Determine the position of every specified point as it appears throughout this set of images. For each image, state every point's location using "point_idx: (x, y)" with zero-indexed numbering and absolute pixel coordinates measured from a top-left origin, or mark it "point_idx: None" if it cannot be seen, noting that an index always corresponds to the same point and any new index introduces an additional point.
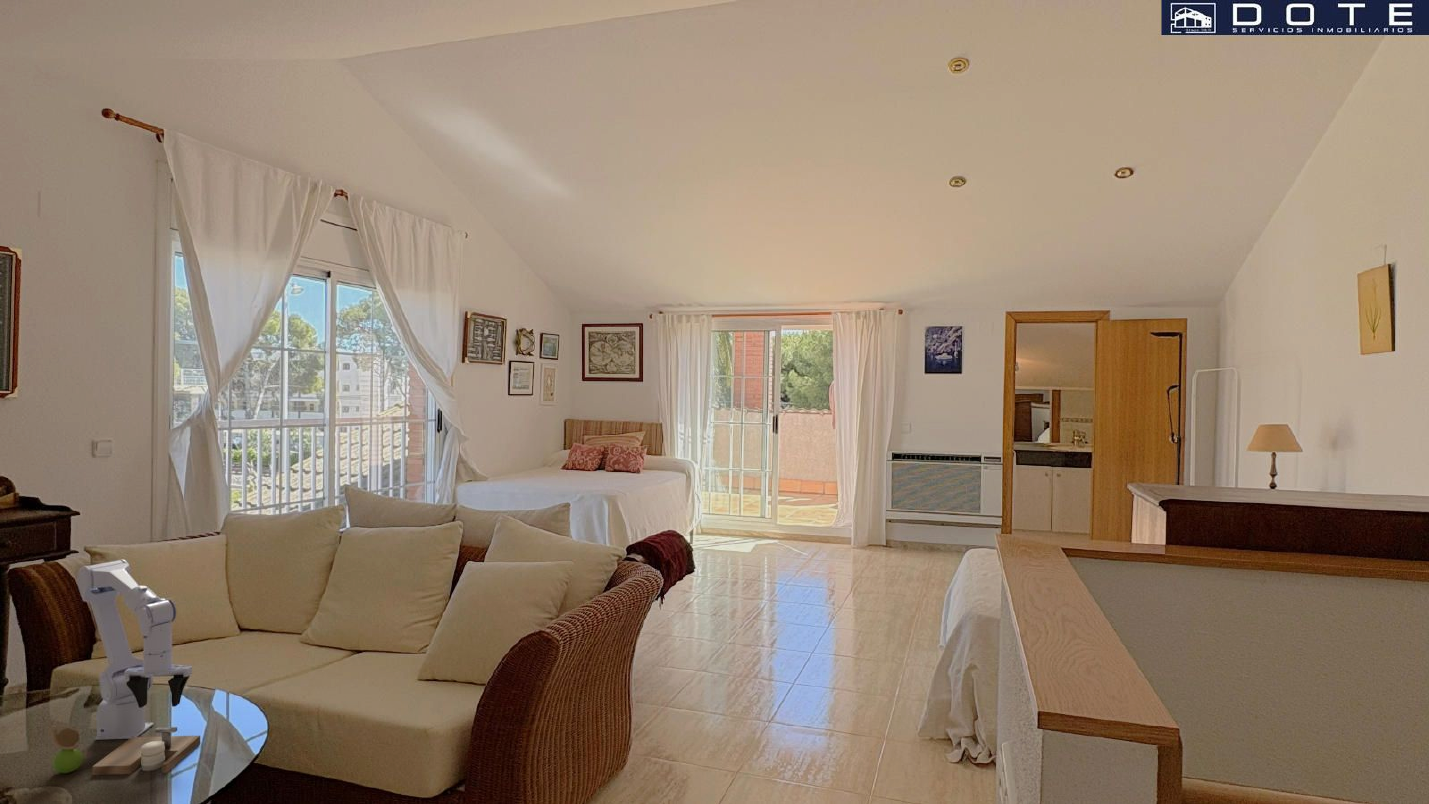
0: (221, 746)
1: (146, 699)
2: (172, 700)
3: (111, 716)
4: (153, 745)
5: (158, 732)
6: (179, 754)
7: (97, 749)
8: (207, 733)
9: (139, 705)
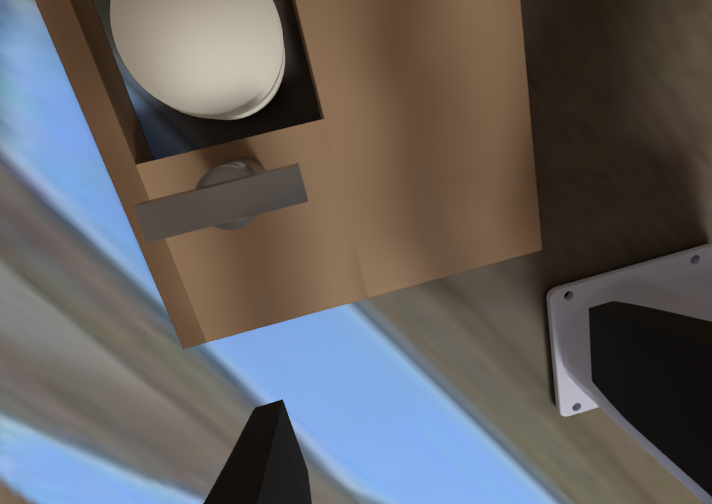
0: (48, 327)
1: (632, 413)
2: (256, 449)
3: None
4: (186, 24)
5: (274, 169)
6: (94, 131)
7: (646, 171)
8: None
9: (626, 307)
